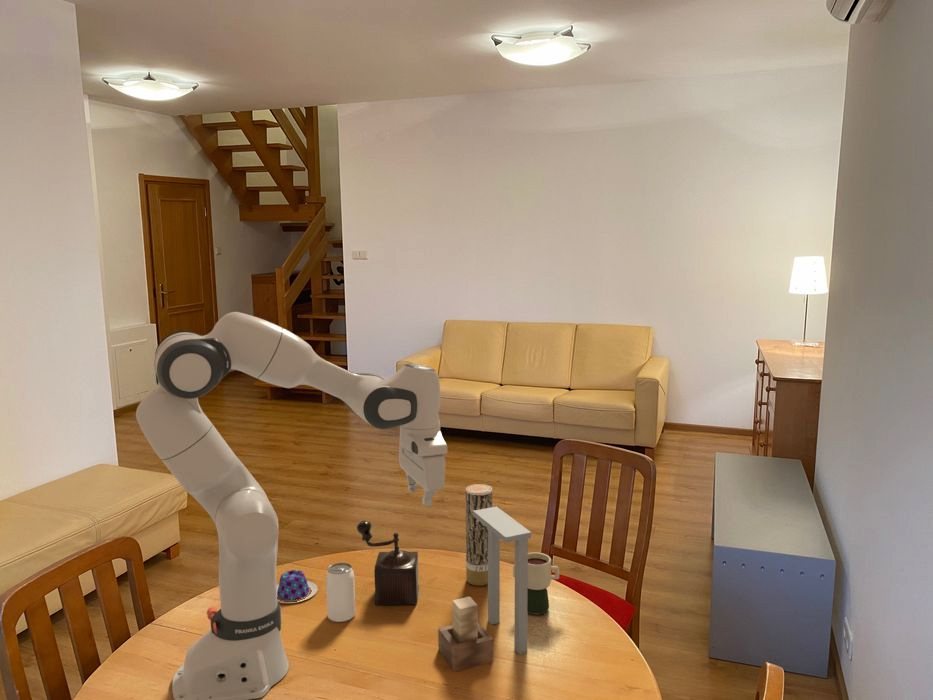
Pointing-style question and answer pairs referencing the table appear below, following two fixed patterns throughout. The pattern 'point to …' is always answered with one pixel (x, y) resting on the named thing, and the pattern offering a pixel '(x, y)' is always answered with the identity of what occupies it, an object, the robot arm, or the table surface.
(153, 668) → the table surface
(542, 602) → the character mug
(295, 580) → the pudding
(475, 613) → the peg
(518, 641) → the u-shaped bar frame
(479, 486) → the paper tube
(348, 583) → the can
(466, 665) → the socket
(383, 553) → the manual coffee grinder
